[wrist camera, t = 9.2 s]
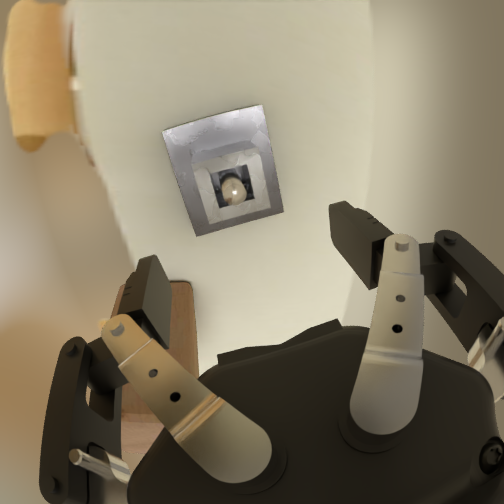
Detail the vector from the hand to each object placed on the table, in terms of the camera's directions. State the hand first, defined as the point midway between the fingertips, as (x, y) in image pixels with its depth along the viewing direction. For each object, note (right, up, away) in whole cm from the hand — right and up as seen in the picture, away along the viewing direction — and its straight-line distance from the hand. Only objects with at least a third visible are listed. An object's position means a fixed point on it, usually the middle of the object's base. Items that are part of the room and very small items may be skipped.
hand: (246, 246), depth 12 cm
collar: (-2, +8, +15) cm, 17 cm away
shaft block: (-3, +9, +16) cm, 19 cm away
